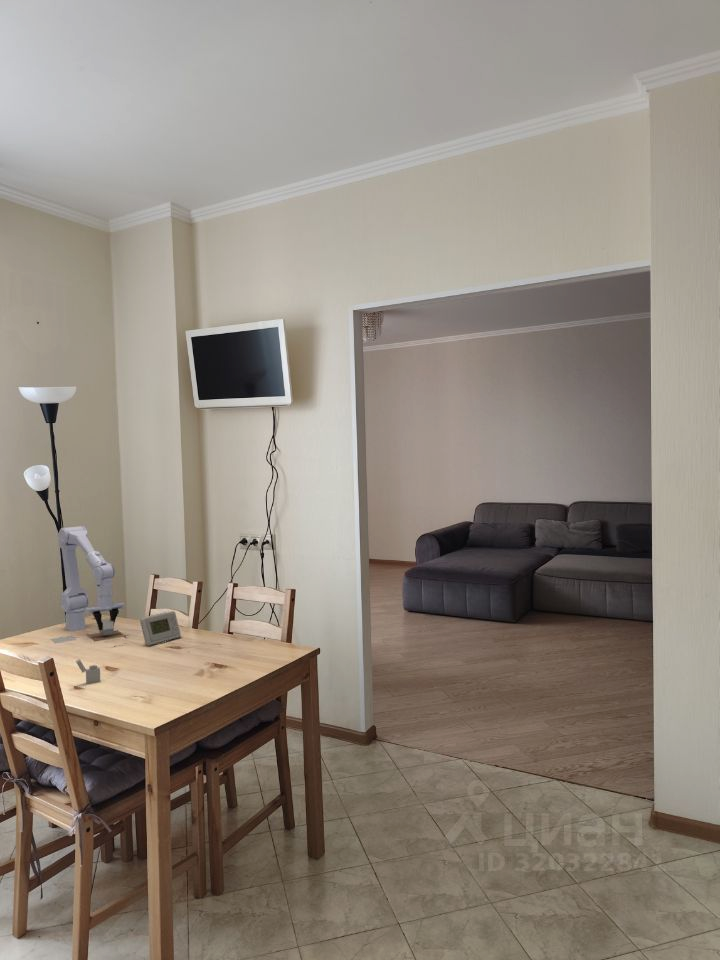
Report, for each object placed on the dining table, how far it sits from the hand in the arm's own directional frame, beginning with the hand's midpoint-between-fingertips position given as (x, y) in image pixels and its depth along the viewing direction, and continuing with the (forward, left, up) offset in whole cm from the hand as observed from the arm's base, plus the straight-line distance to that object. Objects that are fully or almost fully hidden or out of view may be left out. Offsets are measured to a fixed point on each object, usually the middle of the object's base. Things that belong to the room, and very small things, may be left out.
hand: (106, 628), depth 275 cm
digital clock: (+17, +16, -5) cm, 24 cm away
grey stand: (-5, -15, -4) cm, 16 cm away
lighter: (+51, -19, -4) cm, 55 cm away
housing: (0, 0, -2) cm, 2 cm away
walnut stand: (0, 0, -4) cm, 4 cm away
